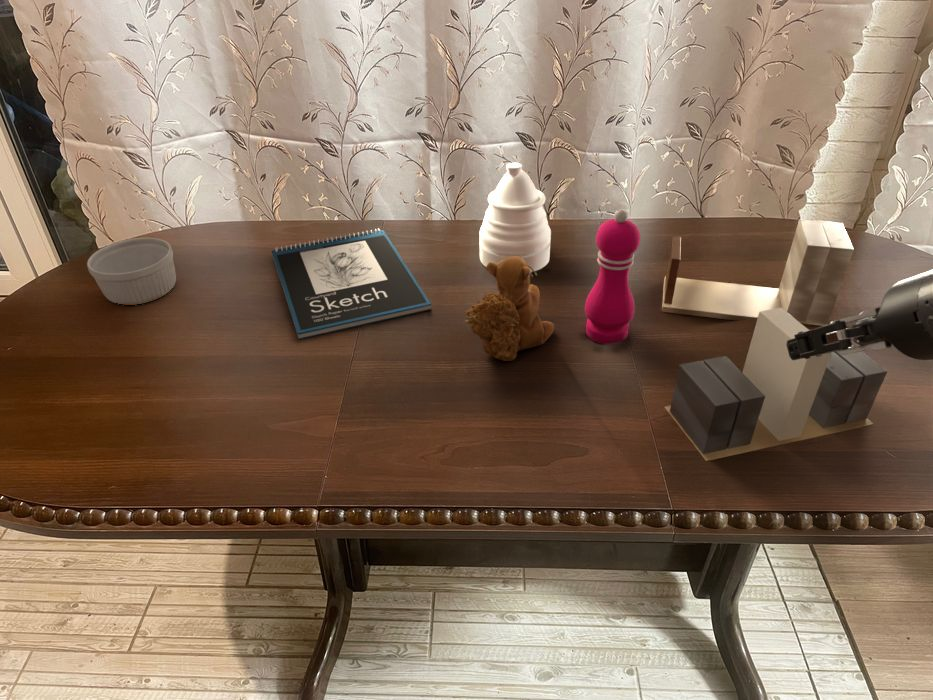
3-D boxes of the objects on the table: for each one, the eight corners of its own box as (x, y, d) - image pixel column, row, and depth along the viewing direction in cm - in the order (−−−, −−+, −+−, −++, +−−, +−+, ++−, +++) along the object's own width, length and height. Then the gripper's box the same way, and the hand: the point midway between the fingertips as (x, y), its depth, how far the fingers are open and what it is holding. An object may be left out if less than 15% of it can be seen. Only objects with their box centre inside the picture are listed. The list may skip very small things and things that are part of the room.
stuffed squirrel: (557, 328, 101) (562, 252, 93) (519, 379, 91) (521, 298, 83) (499, 313, 105) (499, 238, 97) (456, 360, 95) (453, 281, 87)
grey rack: (816, 381, 89) (836, 329, 84) (871, 430, 81) (895, 376, 76) (662, 412, 84) (673, 359, 80) (704, 466, 77) (719, 412, 72)
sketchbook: (299, 341, 100) (296, 329, 99) (272, 256, 123) (270, 246, 122) (432, 310, 106) (431, 299, 105) (382, 234, 129) (381, 225, 128)
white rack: (816, 298, 106) (842, 221, 98) (825, 331, 98) (854, 251, 90) (663, 281, 112) (676, 207, 104) (661, 311, 104) (675, 234, 96)
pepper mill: (619, 317, 103) (635, 197, 91) (638, 343, 97) (658, 218, 85) (575, 323, 102) (586, 202, 90) (592, 350, 96) (606, 224, 84)
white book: (755, 391, 86) (781, 307, 78) (800, 436, 79) (833, 349, 71) (735, 395, 85) (759, 311, 78) (778, 441, 78) (809, 354, 71)
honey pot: (542, 277, 114) (547, 178, 103) (471, 269, 117) (469, 171, 106) (555, 245, 123) (561, 151, 113) (489, 238, 127) (489, 146, 116)
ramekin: (191, 294, 112) (180, 258, 108) (109, 319, 106) (94, 282, 102) (171, 264, 121) (160, 230, 117) (94, 286, 115) (79, 251, 111)
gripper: (1015, 253, 56) (871, 300, 72) (875, 277, 54) (758, 320, 69) (1043, 337, 55) (891, 366, 71) (902, 366, 53) (776, 389, 68)
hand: (825, 343), depth 70 cm, fingers open, 8 cm apart
